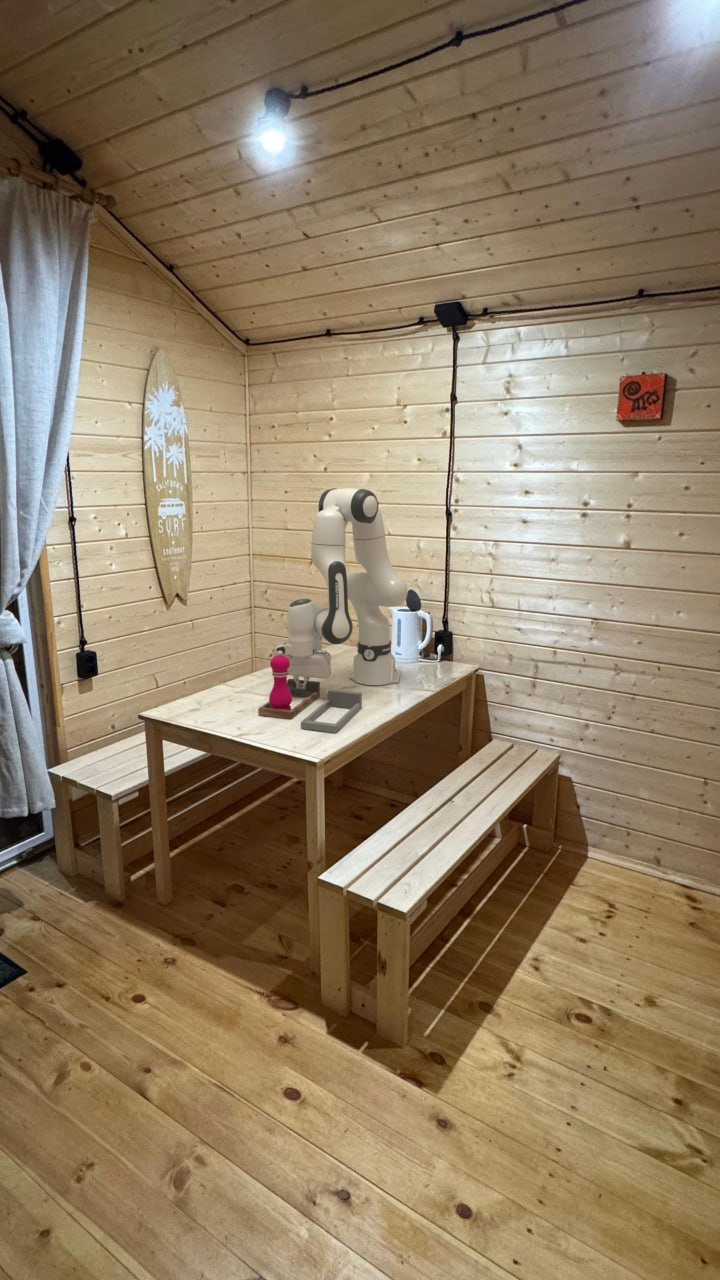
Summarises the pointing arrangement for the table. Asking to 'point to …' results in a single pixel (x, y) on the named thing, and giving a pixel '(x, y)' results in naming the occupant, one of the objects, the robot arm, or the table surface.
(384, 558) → the robot arm
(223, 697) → the table surface
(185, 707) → the table surface
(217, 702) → the table surface
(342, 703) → the grey open rectangular frame
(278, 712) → the brown wooden rectangular frame
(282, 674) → the pepper mill
